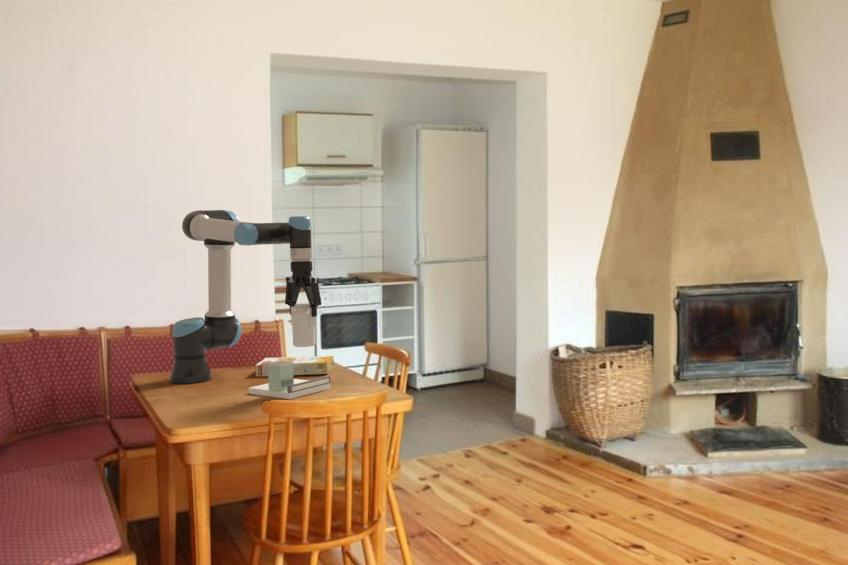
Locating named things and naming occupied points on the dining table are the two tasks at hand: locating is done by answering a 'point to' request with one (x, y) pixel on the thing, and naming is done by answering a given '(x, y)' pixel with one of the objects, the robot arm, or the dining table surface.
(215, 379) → the dining table surface
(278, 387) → the tea tin
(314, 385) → the flat white tray
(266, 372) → the cereal box
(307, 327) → the pill bottle
